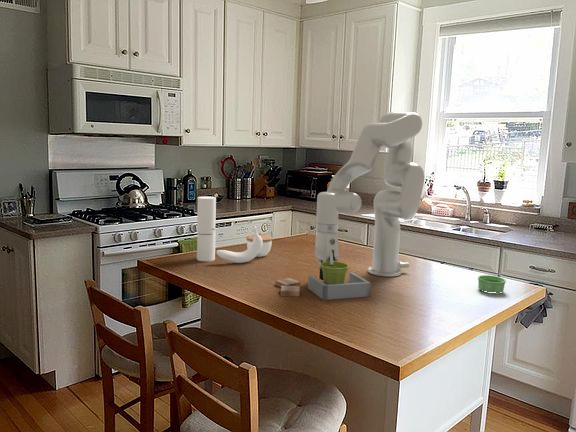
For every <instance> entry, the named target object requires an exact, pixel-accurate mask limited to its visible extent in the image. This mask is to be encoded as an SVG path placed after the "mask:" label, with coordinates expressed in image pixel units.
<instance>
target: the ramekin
mask: <svg viewBox="0 0 576 432" xmlns="http://www.w3.org/2000/svg"><path fill="white" fill-rule="evenodd" d="M477 279H478V281H477V282H478V288H479V289H480V290H483V291H487V292H496V293H500V292H503V293H504V289H505V284H507V280H506V279H504V278H503V277H500V276H496V275H488V274H487V275H486V274H485V275H484V274H483V275H479V276H478V277H477ZM479 289H478V290H479ZM480 290H479V291H480Z"/></svg>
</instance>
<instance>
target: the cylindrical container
mask: <svg viewBox="0 0 576 432" xmlns="http://www.w3.org/2000/svg"><path fill="white" fill-rule="evenodd" d="M216 208H217V197H216V196H206V195H205V196H198V197H197V210H196V211H197V212H196V213H197V215H196V217H197V224H196V226H197V228H196V229H197V230H196V231H197V234H196V235H197V236H196V237H197V238H196V239H197V240H196V241H197V242H196V260H197V261H198V262H213V261H215V260H216V221H217V220H216V218H217V217H216V216H217V215H216V214H217V213H216V212H217V211H216V210H217V209H216Z"/></svg>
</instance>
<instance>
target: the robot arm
mask: <svg viewBox="0 0 576 432" xmlns="http://www.w3.org/2000/svg"><path fill="white" fill-rule="evenodd" d="M422 127H423V120H422V117H421V116H420V115H419V113H416V112H414V111H413V112H412V111H395V112H394V111H393V112H392V111H391V112H387V113H385V114H383V115H382V116H381V117H380V119H379V122H371V123H368V124H366V125H364V126H363V128H362V130H361V132H360V135H358V136H359V137H358V138H357V141H356V143H355V147H354V149H353V151H352V153H351V155H350V158H349V160H348V161H347V162H346V163H345V164H344V165H343V166H342V167H341V168H340V169H339V170H338V171H337V172H336V173H335V175H334V176H333V177H332V179H331V180H330V183H329V185H328V187H327V190H326V191H321V192H319V193H318V194H317V198H316V221H315V232H316V235H315V246H314V255H315V257H316V258H317V260H318V264H319V265H318V266H319V276H318V277H319V278H318V279H319V280H320V281H323V271H322V267H321V266H320V264H321V263H322V262H327V261H330V266H333V261H336V262H339V237H338V230H339V229H338V228H339V214H354V213H355V214H356V213H357V212H358V211H359V210H360V209H361V207H362V203H363V202H362V198H361V197H360V195H359V194H357V193H355V192H352V191H349V190H348V191H347V188H348V186H349V185H351V183H352V182H353V181H354V180H355V179H357V178H359V177H360V176H363V175H365V174H366V173H369V172H371V170H372V169H373V168H374V165H375V162H376V160H377V157H378V155H379V153H380V150H381V148H387V149H388V152H387V156H386V160H385V165H384V172H383V177H382V178H383V181H384V183H385V185H387V186H389V187H394V188H399V189H400V191H399V190H392V189H383V190H380V191H378V192H377V193H376V195H375V196H374V198H373V204H372V205H373V210H374V234H373V235H374V236H373V246H372V247H373V249H372V264H371V266H369V267H368V268H367V272H368V273H369V274H371V275H374V276H377V277H379V276H380V277H387V278H388V277H389V278H390V277H391V278H393V277H398V276H402V268H406V269H407V268H409V267H410V263H409V262H402V261H399V251H400V240H401V239H400V238H401V237H400V235H401V224H400V220H399V219H403V220H409V219H412V218H414V216H416V214H417V212H418V210H419V206H420V203H421V198H422V197H421V196H422V193H423V188H424V185H425V171H424V168H423V167H422V166H421V165H420V164H418V163H415V162H411V159H412V151H413V148H412V147H413V146H412V143H411V139H412V138H414V137H416V136H417V135H418V134H419V133H420V132H421V130H422Z"/></svg>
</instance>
